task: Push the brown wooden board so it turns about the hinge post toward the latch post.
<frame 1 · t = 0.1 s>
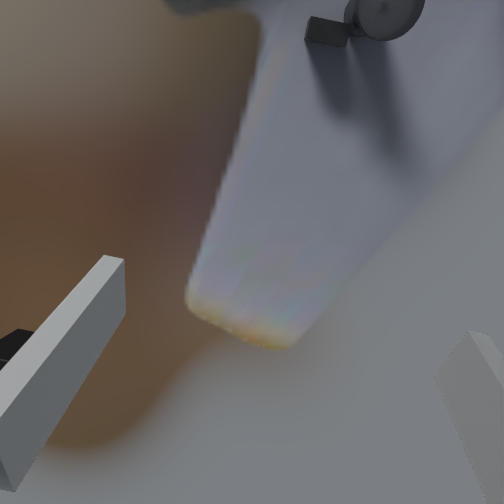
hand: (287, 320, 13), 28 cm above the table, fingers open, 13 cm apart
latch post: (362, 15, 30), on the table
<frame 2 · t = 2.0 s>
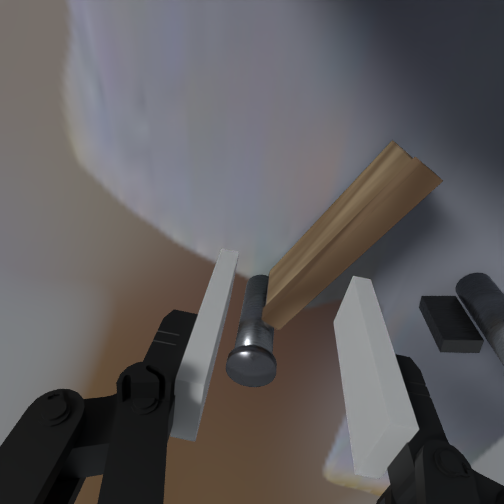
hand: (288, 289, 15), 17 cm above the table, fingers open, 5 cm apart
latch post: (473, 286, 33), on the table
hinge post: (261, 287, 36), on the table
brown wooden board: (331, 239, 28), point 4 cm above the table, hinge at 50.0°
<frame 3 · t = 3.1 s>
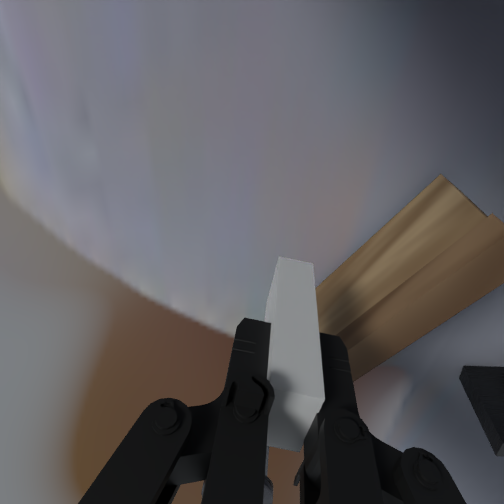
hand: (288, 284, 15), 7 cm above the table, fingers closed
hinge post: (256, 349, 28), on the table
brown wooden board: (350, 310, 20), point 4 cm above the table, hinge at 50.0°
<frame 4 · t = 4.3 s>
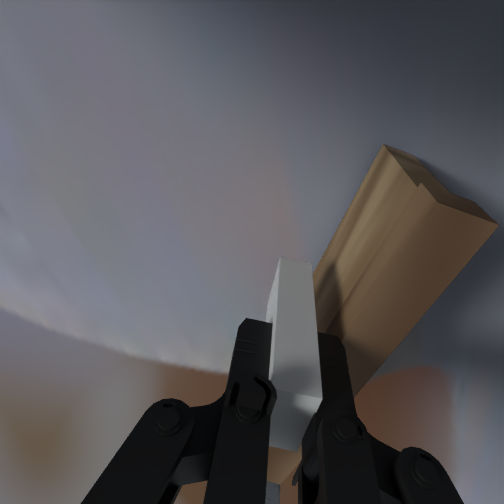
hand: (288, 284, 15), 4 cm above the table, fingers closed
hinge post: (262, 382, 25), on the table
brown wooden board: (324, 329, 17), point 4 cm above the table, hinge at 46.5°, touching gripper
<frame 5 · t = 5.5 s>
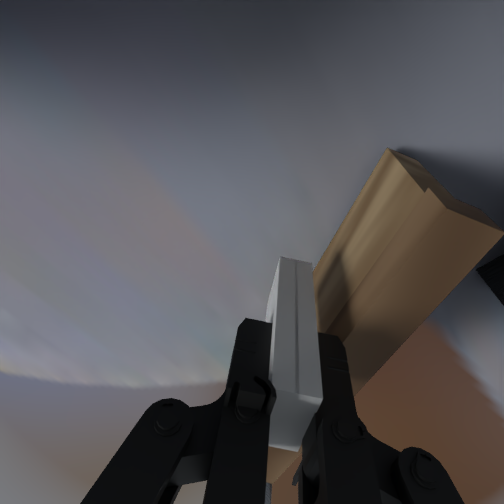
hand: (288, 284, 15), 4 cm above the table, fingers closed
brown wooden board: (321, 330, 17), point 4 cm above the table, hinge at 22.2°, touching gripper
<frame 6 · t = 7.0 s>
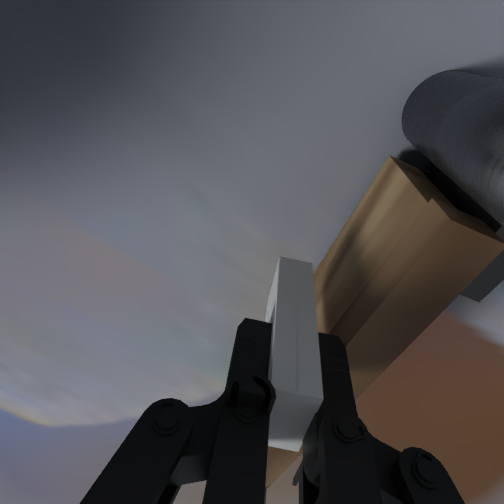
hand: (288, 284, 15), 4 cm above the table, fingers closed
latch post: (441, 113, 14), on the table
brown wooden board: (320, 335, 17), point 4 cm above the table, hinge at 1.0°, touching gripper
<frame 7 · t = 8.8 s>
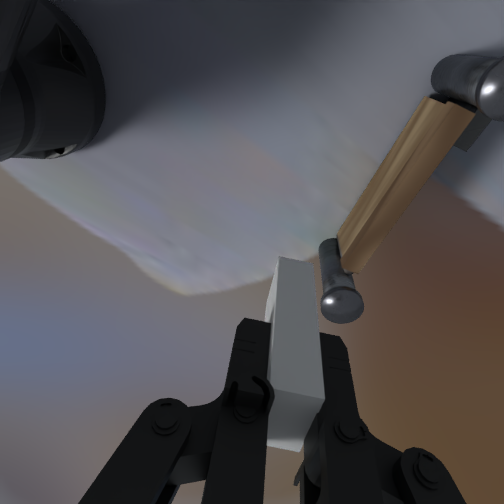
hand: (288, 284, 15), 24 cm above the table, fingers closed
latch post: (449, 75, 31), on the table
hinge post: (331, 249, 42), on the table
brown wooden board: (388, 189, 33), point 4 cm above the table, hinge at 1.0°
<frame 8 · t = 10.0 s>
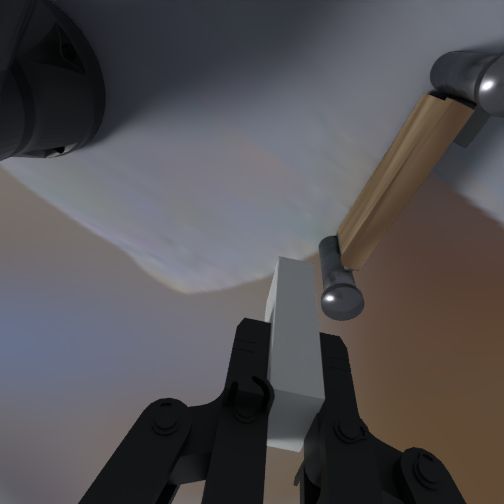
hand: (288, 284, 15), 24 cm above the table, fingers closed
latch post: (448, 71, 31), on the table
hinge post: (331, 247, 42), on the table
brown wooden board: (387, 186, 33), point 4 cm above the table, hinge at 1.0°
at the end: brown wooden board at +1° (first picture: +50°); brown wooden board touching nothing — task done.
